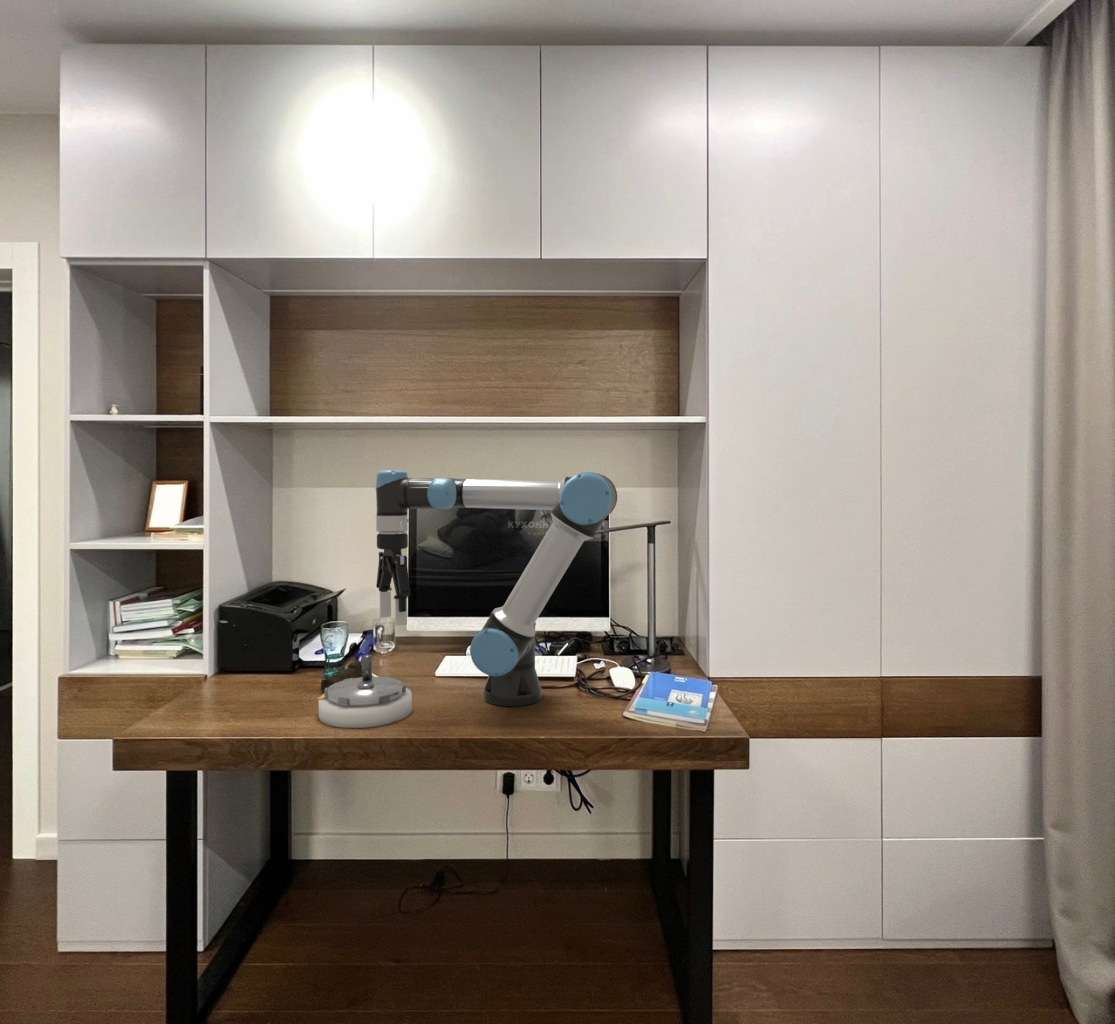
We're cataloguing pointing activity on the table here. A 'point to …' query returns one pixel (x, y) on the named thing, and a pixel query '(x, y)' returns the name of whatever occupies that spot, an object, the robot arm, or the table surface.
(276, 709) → the table surface
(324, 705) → the housing
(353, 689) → the grey disc with handle
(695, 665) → the table surface
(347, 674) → the hand tool
